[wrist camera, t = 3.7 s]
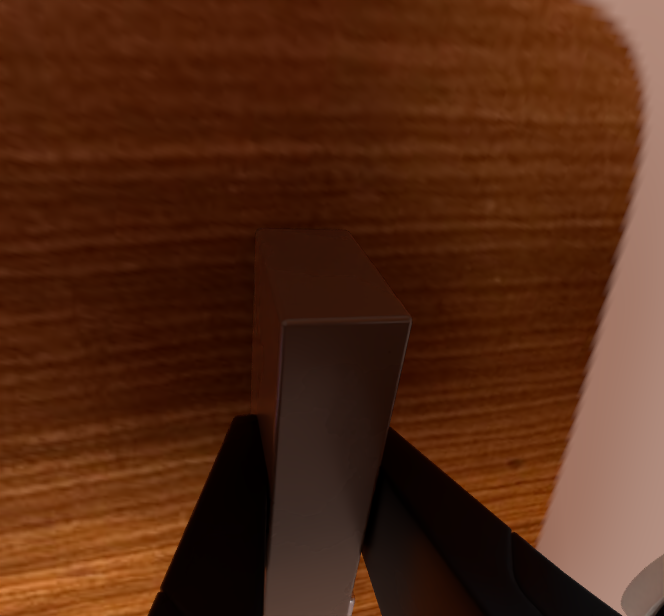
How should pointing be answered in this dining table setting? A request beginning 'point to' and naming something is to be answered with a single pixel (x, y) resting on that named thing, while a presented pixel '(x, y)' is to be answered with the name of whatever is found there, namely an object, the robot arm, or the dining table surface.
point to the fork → (320, 408)
